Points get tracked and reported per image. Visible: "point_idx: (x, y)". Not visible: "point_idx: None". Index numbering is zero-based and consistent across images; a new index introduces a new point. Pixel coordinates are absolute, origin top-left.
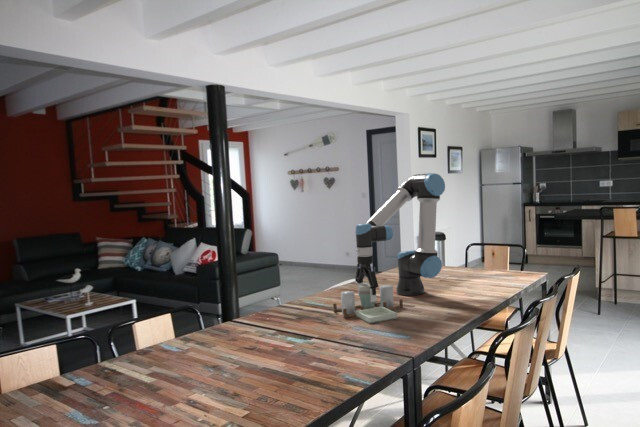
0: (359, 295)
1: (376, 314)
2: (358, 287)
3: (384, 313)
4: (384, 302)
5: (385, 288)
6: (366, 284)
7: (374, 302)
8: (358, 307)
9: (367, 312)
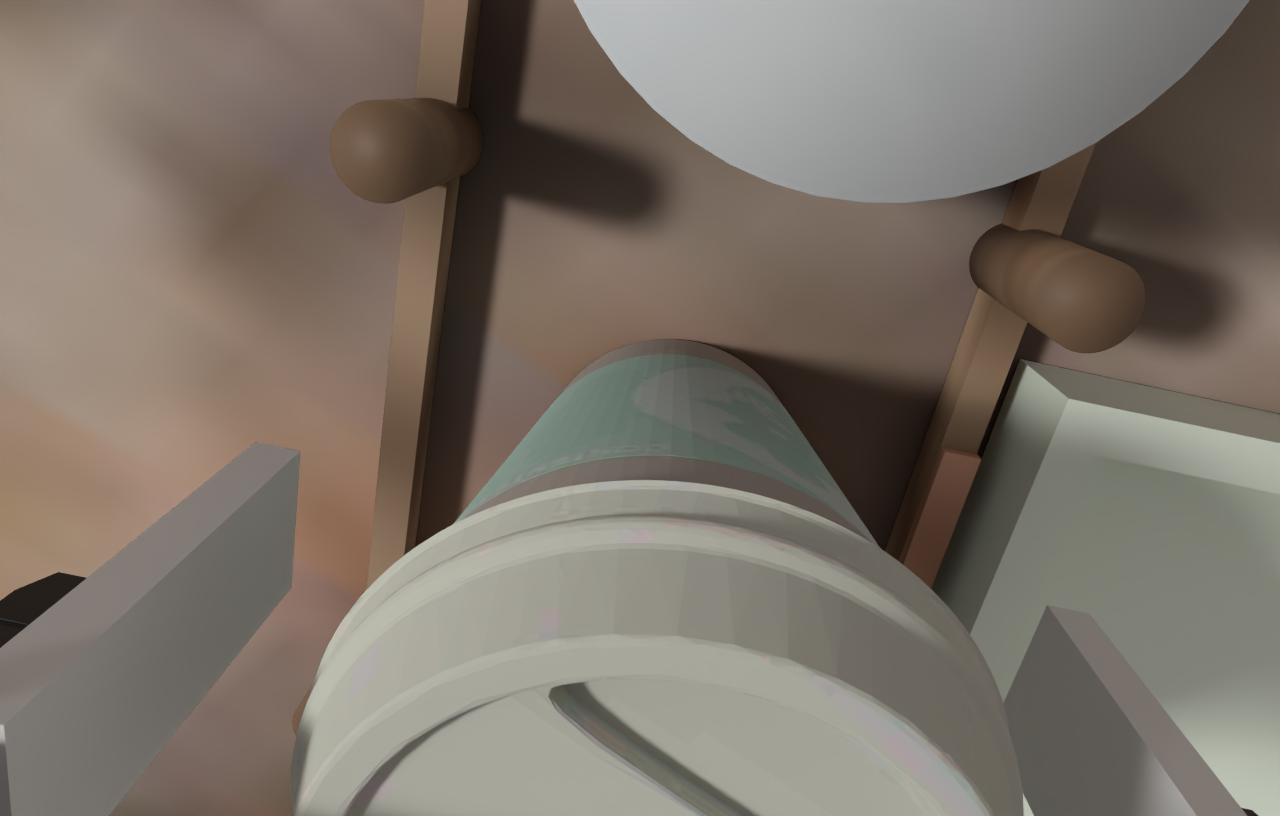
0: (280, 590)
1: (1142, 632)
2: (126, 780)
3: (1240, 495)
4: (1114, 329)
5: (1142, 92)
6: (387, 785)
7: (796, 427)
8: (418, 510)
9: None
